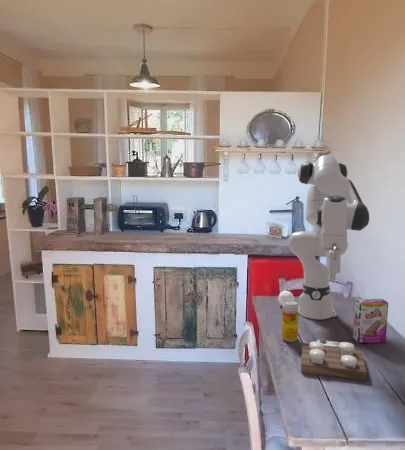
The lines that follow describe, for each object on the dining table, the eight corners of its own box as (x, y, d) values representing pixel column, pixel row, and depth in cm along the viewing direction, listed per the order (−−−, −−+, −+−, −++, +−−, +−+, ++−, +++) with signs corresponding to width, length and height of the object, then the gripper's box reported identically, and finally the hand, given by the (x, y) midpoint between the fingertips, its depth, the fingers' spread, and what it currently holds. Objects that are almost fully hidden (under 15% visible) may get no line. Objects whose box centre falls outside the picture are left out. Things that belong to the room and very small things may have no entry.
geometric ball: (290, 311, 184) (297, 302, 179) (275, 306, 184) (282, 297, 179) (289, 300, 190) (297, 290, 185) (275, 295, 190) (282, 285, 185)
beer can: (286, 343, 144) (287, 306, 142) (279, 336, 150) (279, 301, 148) (300, 341, 146) (301, 304, 144) (292, 334, 152) (293, 299, 150)
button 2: (338, 352, 133) (339, 341, 132) (353, 353, 131) (353, 342, 131) (339, 358, 128) (340, 347, 127) (354, 360, 127) (355, 349, 126)
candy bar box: (358, 344, 142) (359, 303, 140) (352, 338, 147) (354, 298, 145) (386, 343, 143) (389, 302, 141) (380, 337, 148) (382, 297, 146)
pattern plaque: (317, 341, 145) (317, 339, 145) (341, 343, 143) (341, 341, 143) (317, 349, 139) (317, 347, 139) (343, 352, 136) (343, 350, 136)
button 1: (309, 351, 136) (309, 340, 135) (323, 352, 134) (323, 342, 134) (309, 357, 131) (309, 346, 130) (323, 359, 130) (324, 348, 129)
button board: (302, 350, 138) (302, 343, 137) (360, 357, 132) (360, 349, 132) (300, 372, 123) (301, 364, 122) (366, 381, 117) (366, 372, 117)
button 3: (309, 359, 128) (309, 348, 127) (324, 360, 126) (324, 349, 126) (309, 366, 123) (309, 354, 123) (324, 368, 122) (324, 356, 121)
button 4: (340, 365, 125) (340, 354, 125) (355, 367, 124) (355, 356, 123) (341, 372, 121) (341, 361, 120) (357, 374, 119) (357, 363, 119)
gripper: (345, 247, 122) (344, 288, 124) (341, 237, 141) (339, 272, 143) (325, 246, 124) (324, 286, 125) (323, 236, 143) (322, 271, 145)
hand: (332, 279), depth 134 cm, fingers closed
